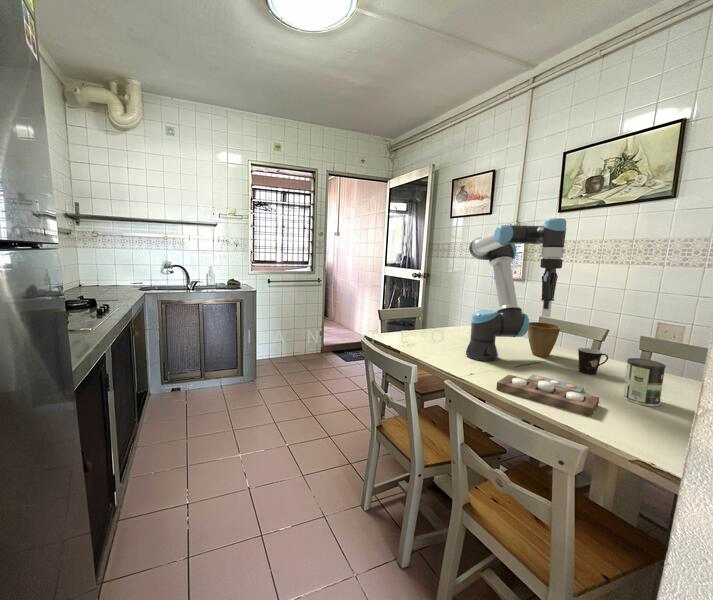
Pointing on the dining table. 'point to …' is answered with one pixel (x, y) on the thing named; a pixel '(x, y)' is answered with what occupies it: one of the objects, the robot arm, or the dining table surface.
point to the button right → (575, 396)
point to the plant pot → (542, 337)
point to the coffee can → (644, 381)
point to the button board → (549, 396)
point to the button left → (519, 381)
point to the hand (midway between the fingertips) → (545, 316)
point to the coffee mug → (589, 360)
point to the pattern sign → (558, 383)
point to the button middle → (546, 386)
